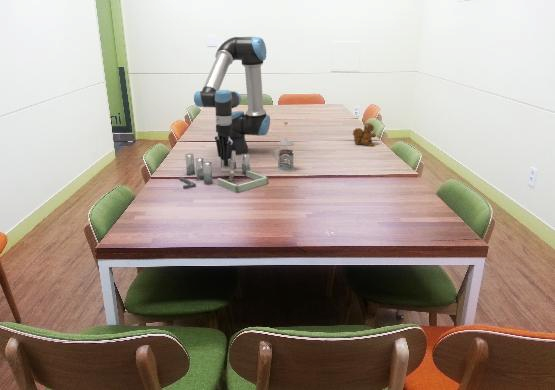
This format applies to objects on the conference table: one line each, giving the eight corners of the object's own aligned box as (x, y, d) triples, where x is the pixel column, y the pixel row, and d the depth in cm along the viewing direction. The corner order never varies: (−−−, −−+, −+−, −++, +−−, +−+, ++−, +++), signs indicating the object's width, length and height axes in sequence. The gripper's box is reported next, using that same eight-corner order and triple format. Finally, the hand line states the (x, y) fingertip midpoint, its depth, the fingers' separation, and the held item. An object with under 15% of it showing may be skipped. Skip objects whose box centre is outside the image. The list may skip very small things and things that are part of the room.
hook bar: (170, 181, 217) (170, 179, 216) (181, 179, 220) (181, 176, 220) (184, 189, 207) (184, 186, 206) (195, 186, 210) (195, 183, 210)
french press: (293, 172, 228) (293, 123, 219) (271, 171, 230) (270, 123, 222) (296, 167, 237) (297, 119, 228) (275, 165, 239) (274, 119, 231)
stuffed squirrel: (375, 146, 275) (377, 125, 270) (352, 146, 277) (353, 124, 273) (374, 142, 284) (376, 122, 280) (352, 142, 286) (353, 121, 282)
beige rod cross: (221, 184, 212) (223, 164, 207) (219, 175, 220) (220, 156, 216) (242, 185, 214) (244, 165, 210) (239, 176, 223) (241, 157, 219)
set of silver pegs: (224, 164, 243) (223, 146, 240) (251, 173, 227) (251, 154, 224) (182, 174, 227) (181, 155, 224) (208, 185, 211) (207, 165, 208)
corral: (248, 176, 224) (248, 170, 223) (268, 183, 213) (268, 177, 212) (217, 184, 212) (217, 178, 211) (237, 192, 202) (236, 186, 200)
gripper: (209, 122, 214) (211, 170, 222) (225, 127, 205) (226, 176, 213) (222, 120, 218) (223, 167, 226) (238, 125, 209) (238, 173, 218)
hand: (224, 171), depth 220 cm, fingers closed
